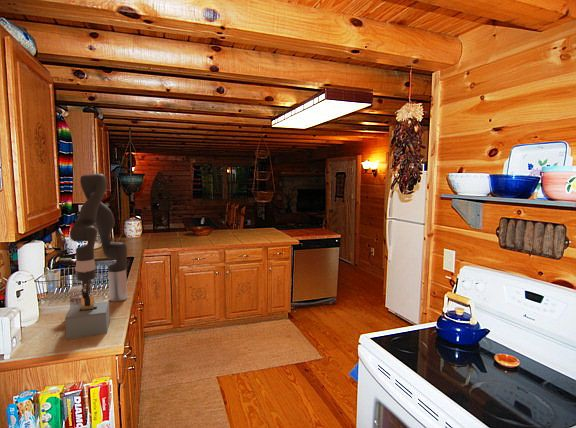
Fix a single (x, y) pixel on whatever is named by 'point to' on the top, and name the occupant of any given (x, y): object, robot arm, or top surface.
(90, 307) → the wooden block
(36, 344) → the top surface
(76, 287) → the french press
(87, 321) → the box
